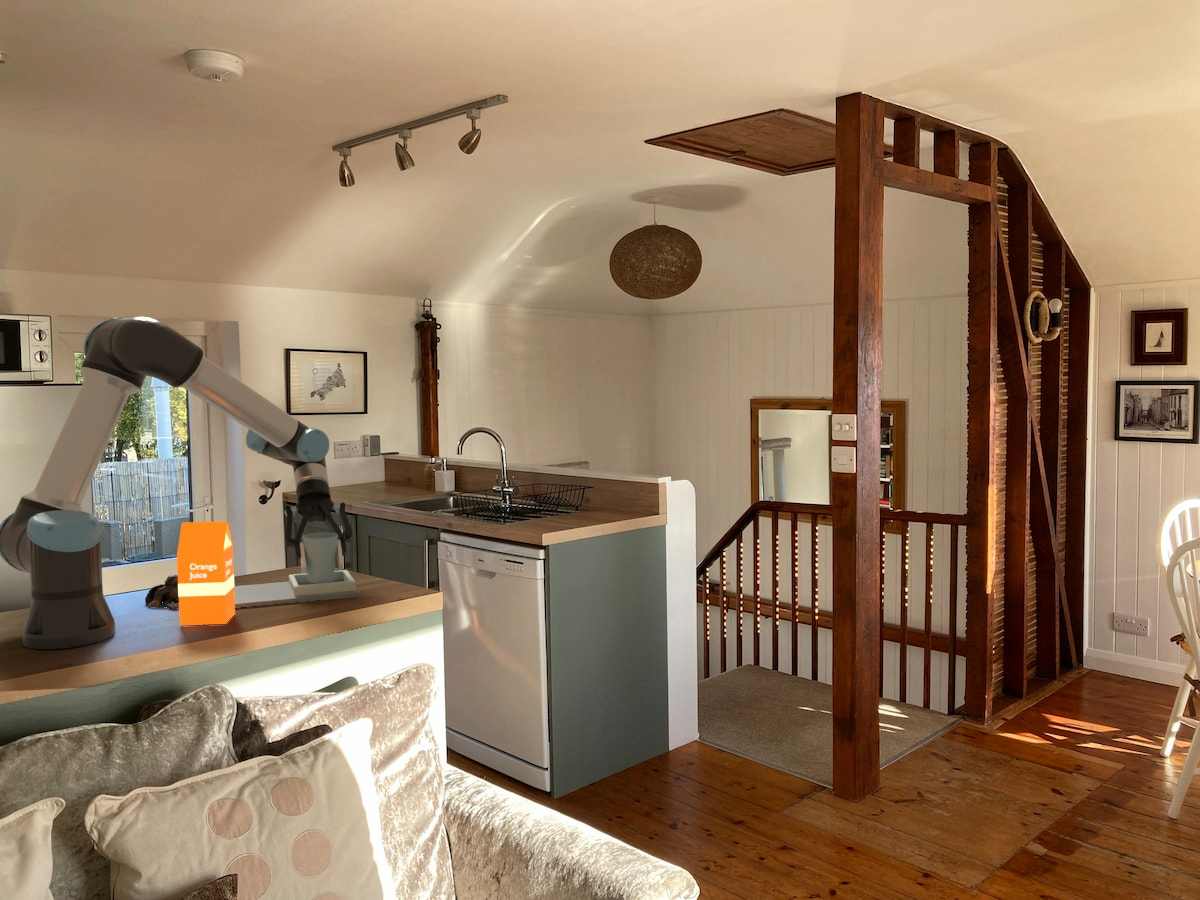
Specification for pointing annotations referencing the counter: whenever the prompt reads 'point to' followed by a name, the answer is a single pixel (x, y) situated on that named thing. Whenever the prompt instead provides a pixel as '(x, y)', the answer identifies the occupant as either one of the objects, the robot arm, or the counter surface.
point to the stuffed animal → (164, 594)
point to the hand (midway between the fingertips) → (322, 568)
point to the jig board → (296, 590)
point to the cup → (320, 556)
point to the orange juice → (205, 574)
